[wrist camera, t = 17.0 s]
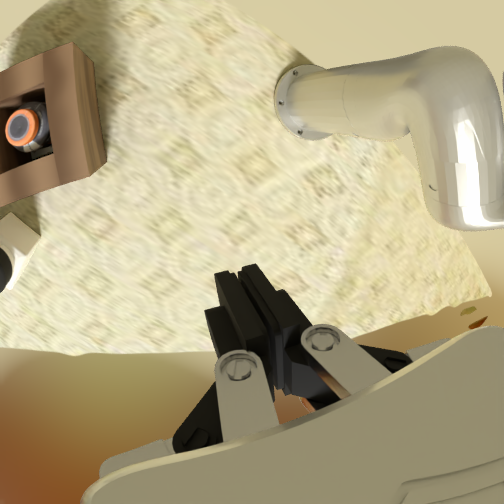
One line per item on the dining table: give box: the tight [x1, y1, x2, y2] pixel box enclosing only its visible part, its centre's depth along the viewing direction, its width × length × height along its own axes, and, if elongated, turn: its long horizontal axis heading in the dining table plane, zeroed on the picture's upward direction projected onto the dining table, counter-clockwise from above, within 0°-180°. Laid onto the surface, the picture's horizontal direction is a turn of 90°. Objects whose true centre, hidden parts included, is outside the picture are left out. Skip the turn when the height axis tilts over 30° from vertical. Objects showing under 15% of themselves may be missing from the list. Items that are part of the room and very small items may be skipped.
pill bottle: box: [5, 101, 52, 152], centre depth 25 cm, size 6×6×11 cm
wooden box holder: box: [0, 42, 107, 207], centre depth 26 cm, size 15×15×12 cm
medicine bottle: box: [0, 212, 41, 293], centre depth 30 cm, size 7×7×12 cm
